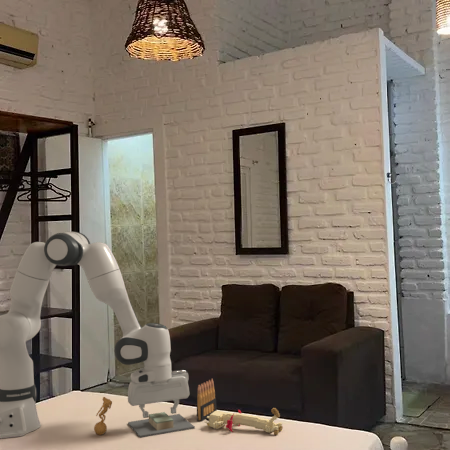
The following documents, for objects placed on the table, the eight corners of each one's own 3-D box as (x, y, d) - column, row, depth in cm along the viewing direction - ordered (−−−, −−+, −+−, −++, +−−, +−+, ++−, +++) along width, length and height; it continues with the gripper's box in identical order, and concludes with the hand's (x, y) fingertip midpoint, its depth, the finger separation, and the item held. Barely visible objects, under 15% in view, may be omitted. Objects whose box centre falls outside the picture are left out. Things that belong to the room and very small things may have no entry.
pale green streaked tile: (173, 427, 197) (164, 419, 206) (173, 419, 197) (164, 411, 206) (157, 430, 195) (148, 421, 204) (156, 422, 195) (148, 414, 204)
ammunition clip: (201, 421, 204) (200, 385, 204) (196, 421, 205) (195, 385, 205) (217, 412, 213) (215, 378, 213) (212, 412, 214) (210, 377, 214)
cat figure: (284, 432, 193) (212, 419, 203) (285, 405, 193) (213, 393, 203) (274, 442, 184) (199, 428, 194) (275, 414, 184) (200, 401, 194)
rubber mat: (139, 437, 190) (139, 435, 190) (128, 423, 205) (128, 422, 205) (194, 428, 197) (194, 426, 197) (179, 415, 212) (179, 413, 212)
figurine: (101, 430, 199) (100, 393, 200) (118, 431, 197) (116, 393, 198) (88, 438, 191) (86, 400, 192) (105, 439, 190) (103, 400, 190)
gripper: (185, 367, 208) (186, 408, 208) (125, 374, 200) (127, 417, 200) (191, 371, 202) (192, 413, 202) (130, 378, 194) (131, 422, 194)
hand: (159, 415), depth 201 cm, fingers open, 8 cm apart
